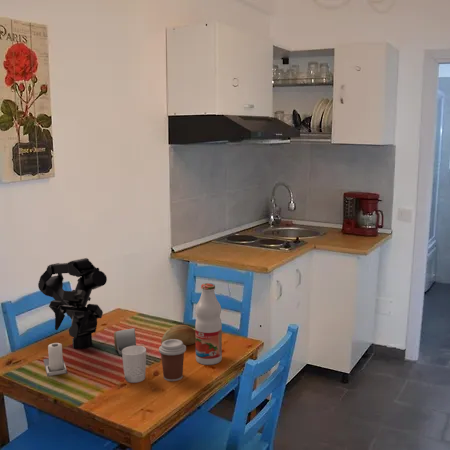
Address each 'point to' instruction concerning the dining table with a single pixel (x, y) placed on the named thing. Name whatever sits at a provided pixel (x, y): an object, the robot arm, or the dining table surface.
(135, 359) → the white cup
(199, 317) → the fruit juice
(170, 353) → the coffee cup
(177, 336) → the bread roll
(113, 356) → the dining table surface
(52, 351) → the cream cylinder
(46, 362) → the power strip
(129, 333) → the ceramic mug
